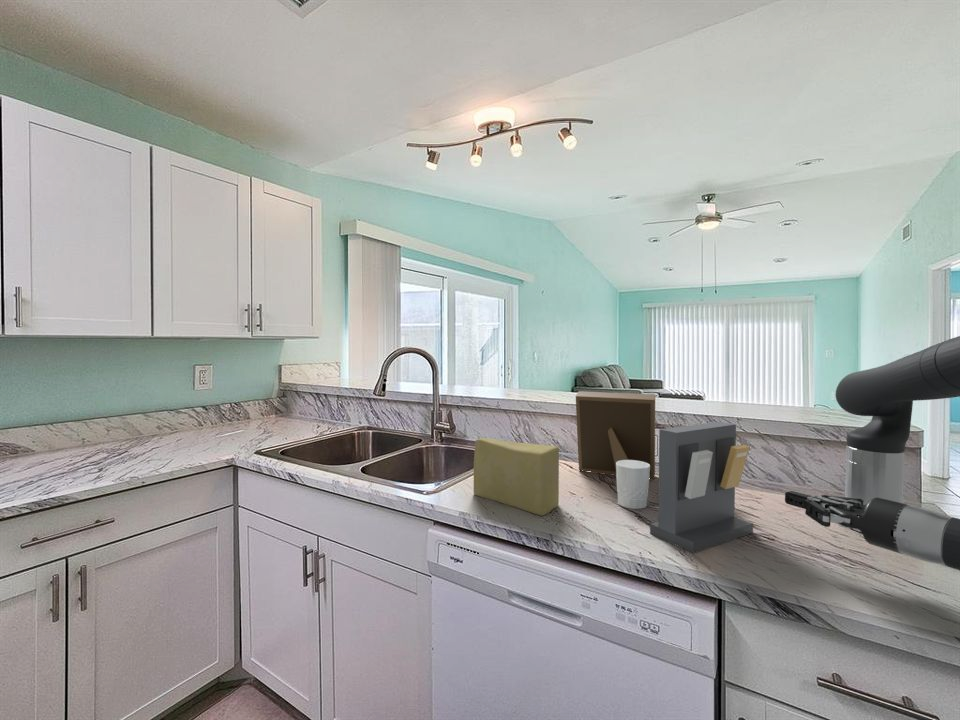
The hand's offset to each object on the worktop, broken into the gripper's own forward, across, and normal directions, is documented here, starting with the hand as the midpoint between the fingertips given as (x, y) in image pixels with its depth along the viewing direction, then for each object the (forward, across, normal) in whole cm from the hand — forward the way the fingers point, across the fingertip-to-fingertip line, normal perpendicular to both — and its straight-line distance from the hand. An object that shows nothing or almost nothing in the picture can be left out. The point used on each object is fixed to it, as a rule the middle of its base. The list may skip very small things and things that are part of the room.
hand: (787, 496), depth 84 cm
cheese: (+48, +30, +11) cm, 58 cm away
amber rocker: (+11, 0, +1) cm, 11 cm away
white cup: (+32, +5, +11) cm, 35 cm away
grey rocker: (+11, +12, +1) cm, 16 cm away
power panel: (+13, +6, +11) cm, 18 cm away
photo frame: (+50, -7, +11) cm, 52 cm away
